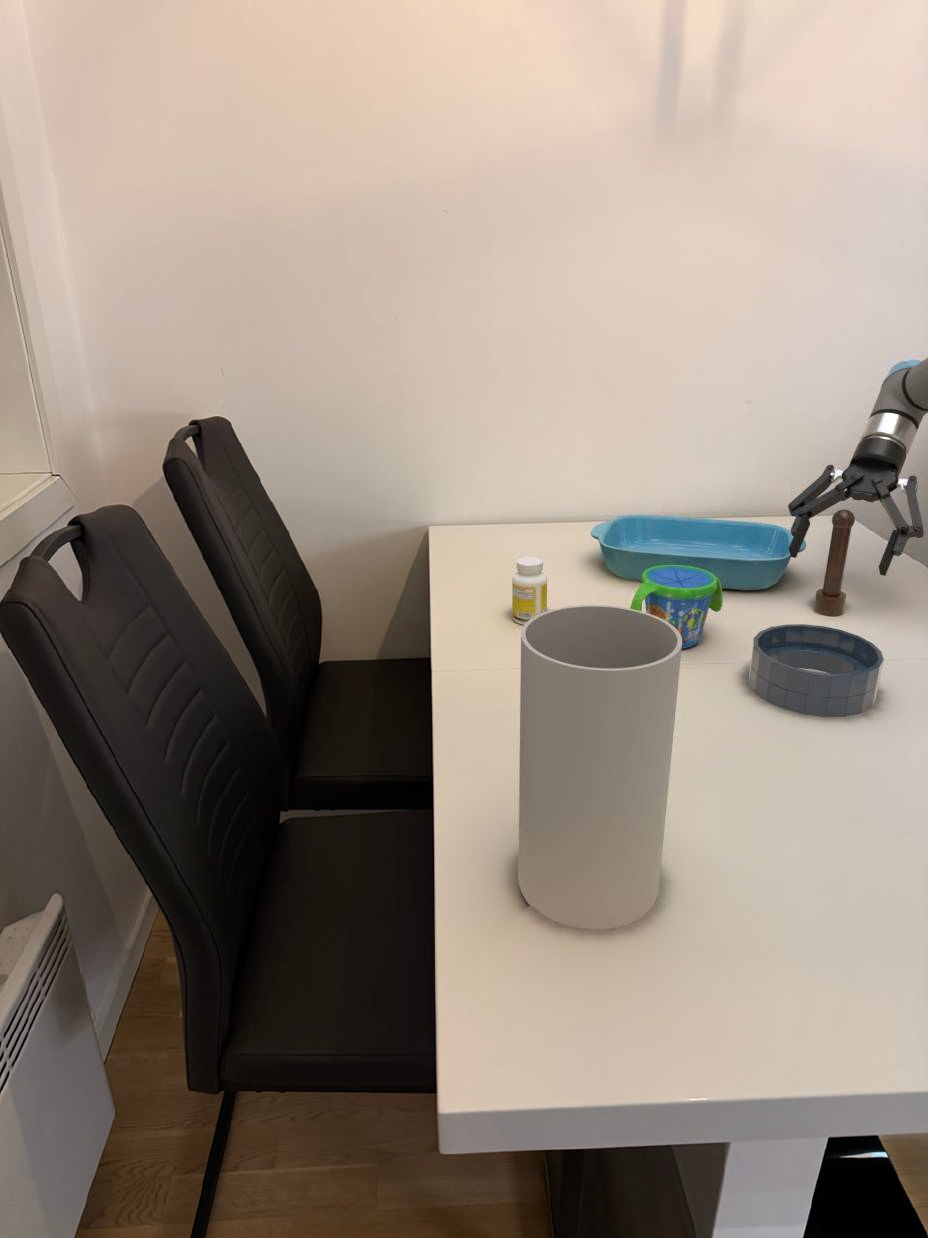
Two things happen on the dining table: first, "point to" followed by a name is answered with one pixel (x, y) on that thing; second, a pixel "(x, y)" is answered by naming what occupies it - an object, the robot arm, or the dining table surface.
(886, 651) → the dining table surface
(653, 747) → the cylinder vase
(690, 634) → the snack cup
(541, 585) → the supplement bottle
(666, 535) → the casserole dish
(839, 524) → the pestle
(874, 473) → the robot arm
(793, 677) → the ring
